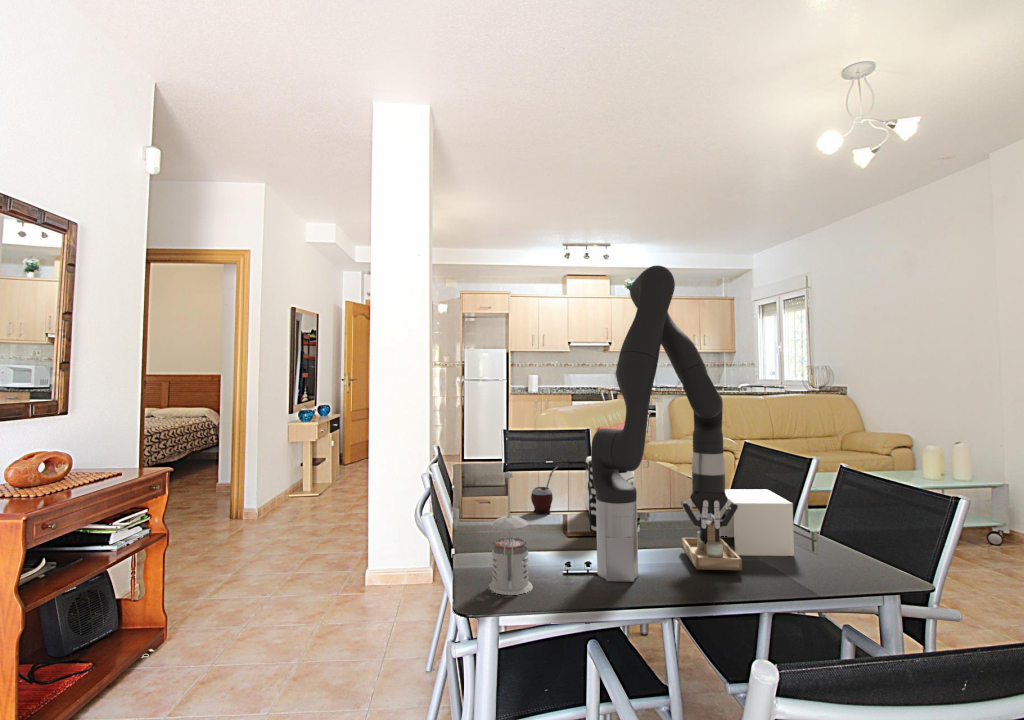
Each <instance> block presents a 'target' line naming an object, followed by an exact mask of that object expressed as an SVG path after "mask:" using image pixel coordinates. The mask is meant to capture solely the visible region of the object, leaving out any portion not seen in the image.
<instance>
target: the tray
mask: <svg viewBox="0 0 1024 720" xmlns="http://www.w3.org/2000/svg"><path fill="white" fill-rule="evenodd" d="M706 528H707V544H704V543H703V541H701V539H700V530H698V531H697V533H696V536H697V537H681V539H680V540H681V550H683V552H684V553H685V554H686V556H687V558H688V559H689V561H690V562H691V563H692V564H693V566H694V567H695V569H696V570H707V571H708V570H711V571H743V559H742V558H741V557H740V555H737V554H736V553H735V550H734V549H733V548H732V547H731V546H730V545H728V543H727V542H726V541H725V540H724V539H723V537H719V542H715V525H714V524H713V523H712V520H708V519H707V527H706Z"/></svg>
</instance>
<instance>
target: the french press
mask: <svg viewBox="0 0 1024 720" xmlns="http://www.w3.org/2000/svg"><path fill="white" fill-rule="evenodd" d="M504 478H505V479H507V480H508V515H504V516H500V517H498V518H496V519H495V520H493V521H492V522H491V523H490V525H491V527H492V529H494V530H498V531H501V532H504V531H505V532H508V533H509V535H508V536H507V537H506V536H505V535H504V537H500V538H498V539H495V540H494V541H493V545H494V546H493V547H492V549H491V556H492V557H491V561H492V564H491V568H492V570H491V572H492V575H491V576H492V577H491V580H492V581H491V583H490V584H489V585H488V586H490V589H491V590H493V591H494V592H496V593H499V594H505V595H506V594H508V595H519V594H523V593H526V594H528V593H529V591H530V592H531V591H533V588H534V586H533V584H532V583H531V582H530V581H529V575H528V574H529V569H528V568H529V563H528V562H529V557H527V556H529V549H528V547H527V546H526V544H527V541H526V540H525V539H524V538H520V537H516V536H514V535H511V532H512V531H513V532H515V531H519V530H522V529H525V528H526V527H527V526H528V525H529V522H528V521H527V520H525V519H523V518H521V517H519V516H516V515H511V499H510V498H511V494H510V492H511V491H510V490H511V486H510V485H511V484H510V483H511V482H510V481H511V480H510V479H512V478H514V474H513V472H511V471H506V472H505V473H504ZM511 536H512V537H511ZM527 592H528V593H527ZM523 595H524V594H523ZM519 596H520V595H519Z"/></svg>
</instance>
